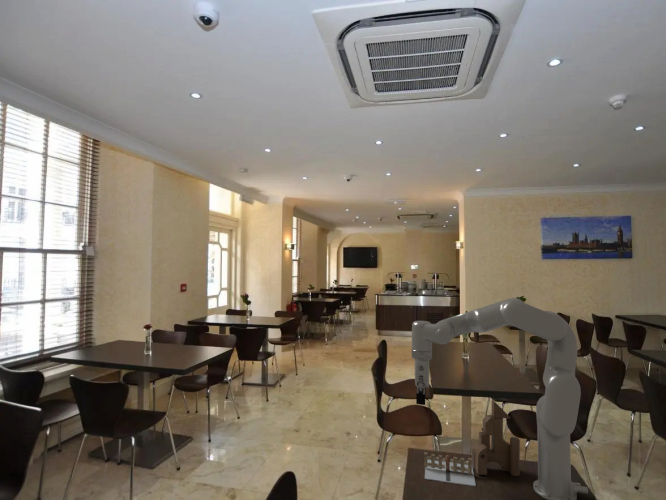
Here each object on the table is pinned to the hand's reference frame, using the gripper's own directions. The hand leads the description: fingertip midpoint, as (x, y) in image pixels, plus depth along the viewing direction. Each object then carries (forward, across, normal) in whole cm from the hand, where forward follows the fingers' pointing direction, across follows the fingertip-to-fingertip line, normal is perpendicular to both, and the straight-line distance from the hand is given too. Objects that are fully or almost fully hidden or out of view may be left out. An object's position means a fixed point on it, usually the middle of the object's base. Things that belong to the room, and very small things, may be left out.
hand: (420, 399), depth 146 cm
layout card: (+25, -1, -10) cm, 27 cm away
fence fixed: (+25, -2, -15) cm, 29 cm away
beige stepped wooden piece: (+24, -1, -6) cm, 25 cm away
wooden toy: (+24, +3, -27) cm, 37 cm away
